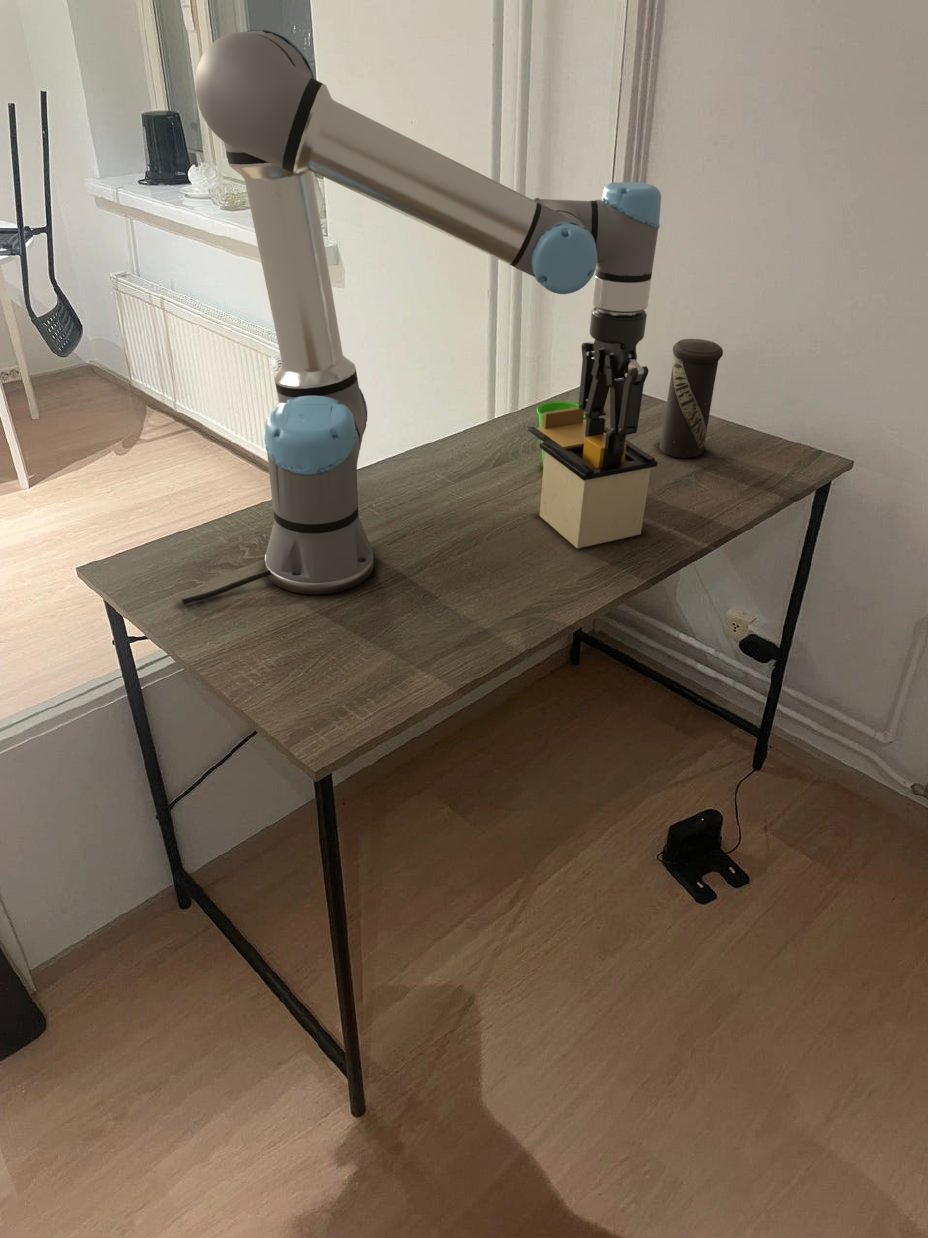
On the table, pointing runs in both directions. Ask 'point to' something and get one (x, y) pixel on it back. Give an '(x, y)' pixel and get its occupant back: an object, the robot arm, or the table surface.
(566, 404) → the cup
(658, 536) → the table surface
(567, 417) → the shutter
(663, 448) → the container
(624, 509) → the sliding lid box
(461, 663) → the table surface
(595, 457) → the block
